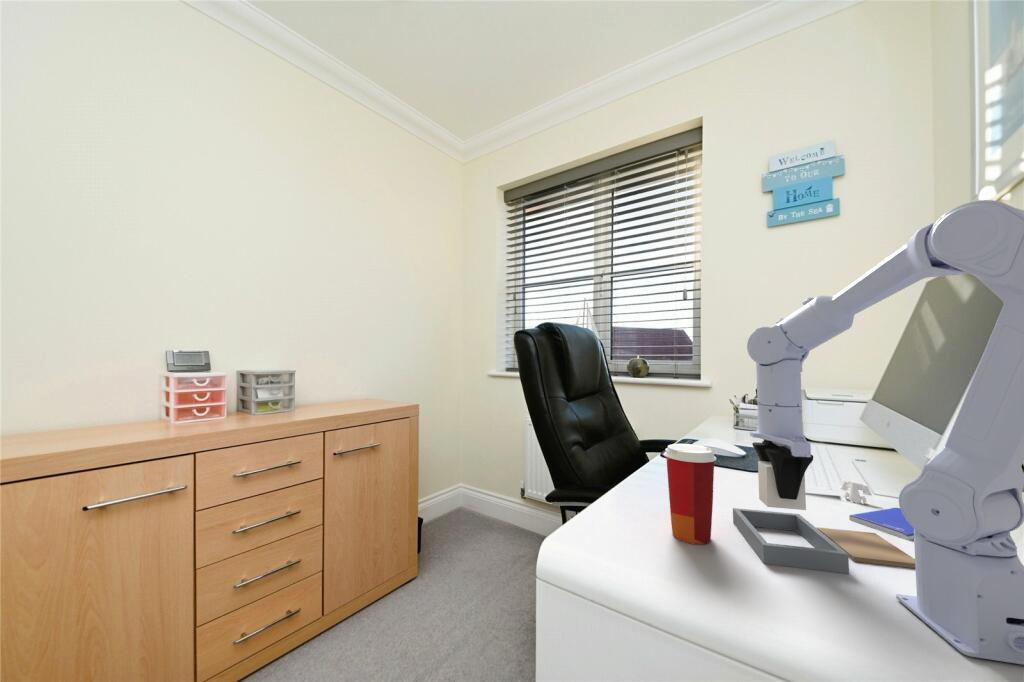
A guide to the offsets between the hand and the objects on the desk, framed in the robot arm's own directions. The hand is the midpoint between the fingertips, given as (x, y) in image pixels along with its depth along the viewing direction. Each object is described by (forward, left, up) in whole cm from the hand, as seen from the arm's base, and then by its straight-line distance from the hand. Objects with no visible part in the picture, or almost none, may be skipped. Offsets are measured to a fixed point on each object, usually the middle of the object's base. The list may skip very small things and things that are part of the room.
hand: (782, 493), depth 60 cm
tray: (0, 0, -8) cm, 8 cm away
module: (0, 0, -2) cm, 2 cm away
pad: (+2, -11, -8) cm, 14 cm away
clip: (+25, -22, -8) cm, 34 cm away
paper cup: (-1, +13, -8) cm, 15 cm away
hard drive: (+14, -23, -8) cm, 28 cm away
